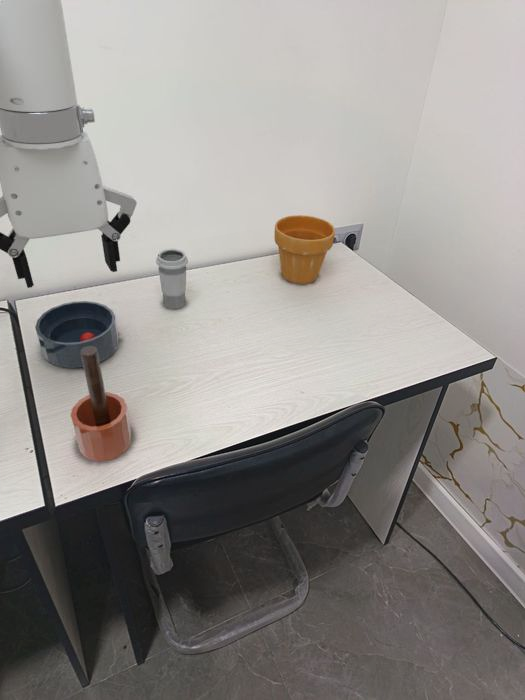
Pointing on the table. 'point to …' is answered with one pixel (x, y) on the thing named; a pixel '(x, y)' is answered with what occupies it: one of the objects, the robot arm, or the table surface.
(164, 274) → the cup
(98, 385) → the stick
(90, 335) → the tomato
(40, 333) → the bowl
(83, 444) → the holder
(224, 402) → the table surface
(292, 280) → the flower pot
